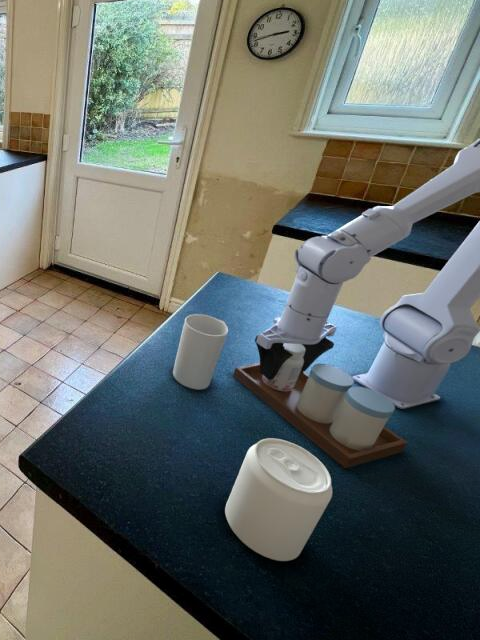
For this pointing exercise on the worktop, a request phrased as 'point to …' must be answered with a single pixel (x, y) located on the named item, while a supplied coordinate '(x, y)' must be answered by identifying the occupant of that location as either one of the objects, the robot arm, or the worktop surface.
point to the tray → (315, 430)
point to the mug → (199, 350)
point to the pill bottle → (288, 369)
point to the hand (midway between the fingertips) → (281, 372)
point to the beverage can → (278, 498)
